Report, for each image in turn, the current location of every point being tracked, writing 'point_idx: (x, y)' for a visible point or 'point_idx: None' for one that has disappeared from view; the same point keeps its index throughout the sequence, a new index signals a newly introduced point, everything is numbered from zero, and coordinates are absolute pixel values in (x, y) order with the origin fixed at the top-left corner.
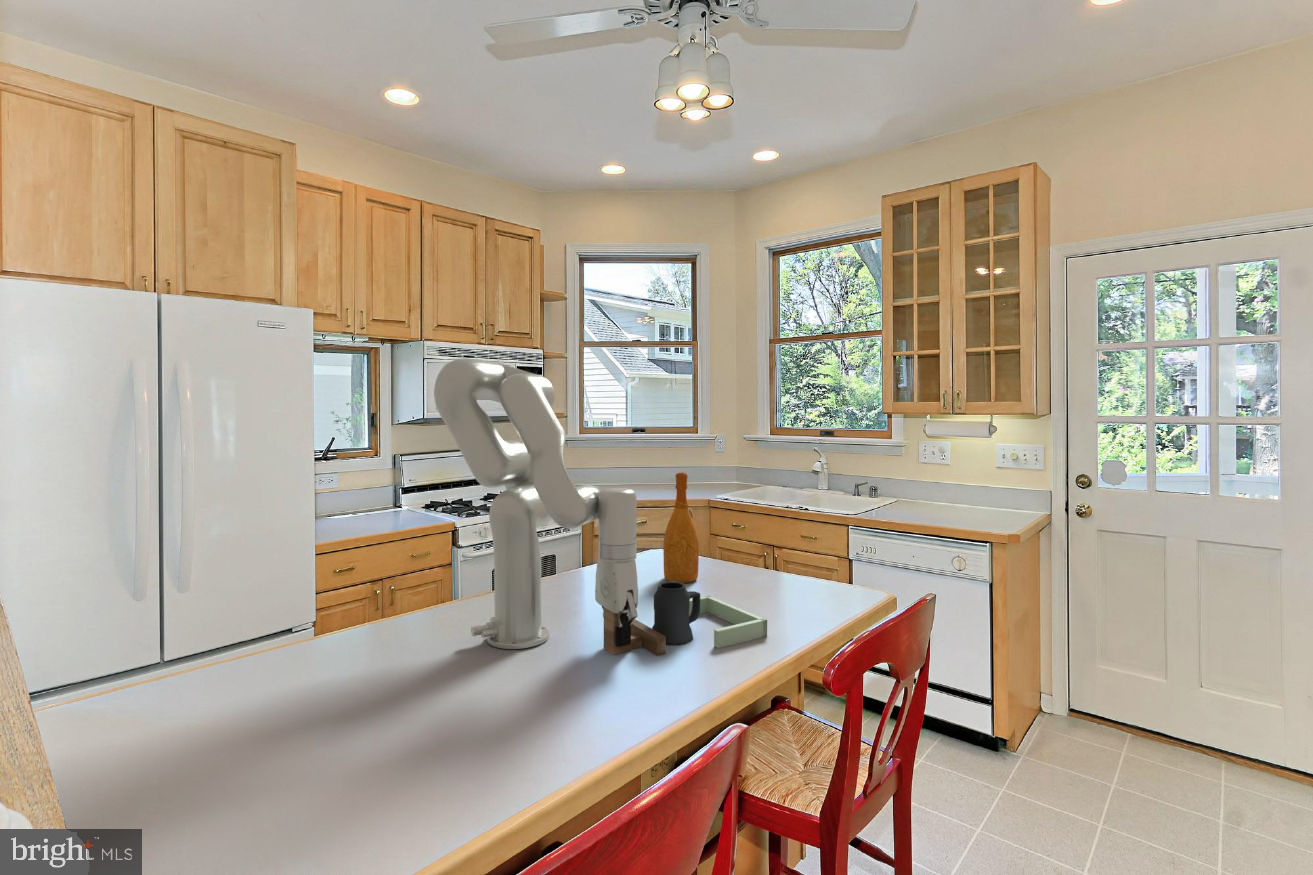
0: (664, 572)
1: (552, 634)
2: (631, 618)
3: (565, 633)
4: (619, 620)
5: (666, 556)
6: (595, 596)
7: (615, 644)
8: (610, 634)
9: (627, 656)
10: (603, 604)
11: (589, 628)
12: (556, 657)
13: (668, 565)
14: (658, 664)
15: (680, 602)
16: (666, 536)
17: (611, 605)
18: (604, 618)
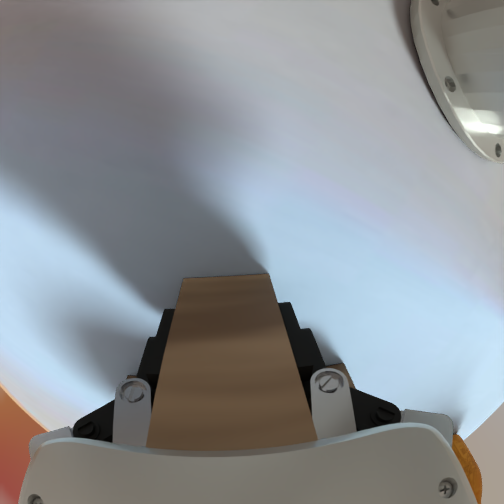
0: (458, 440)
1: (473, 169)
2: (46, 434)
3: (460, 210)
4: (117, 412)
5: (463, 460)
6: (436, 448)
7: (173, 310)
8: (200, 326)
9: (150, 313)
10: (258, 472)
11: (442, 293)
12: (278, 54)
13: (455, 454)
14: (73, 350)
15: None
16: (475, 480)
17: (91, 485)
18: (285, 373)
